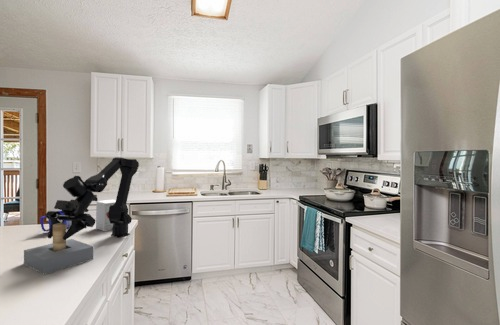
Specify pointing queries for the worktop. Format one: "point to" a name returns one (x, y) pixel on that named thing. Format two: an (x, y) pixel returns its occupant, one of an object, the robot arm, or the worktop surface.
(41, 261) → the socket block
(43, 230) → the mug
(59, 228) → the pin
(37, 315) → the worktop surface
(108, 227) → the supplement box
